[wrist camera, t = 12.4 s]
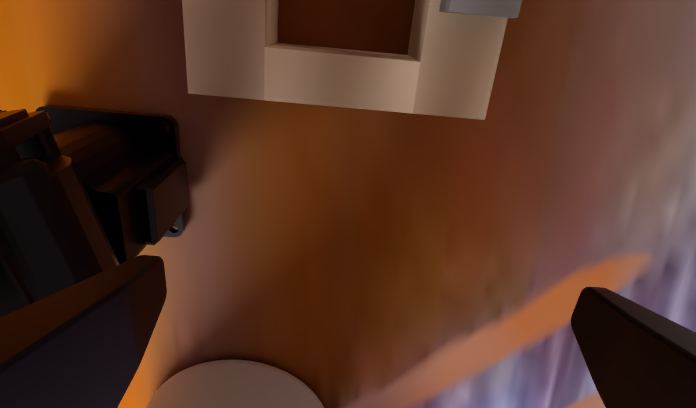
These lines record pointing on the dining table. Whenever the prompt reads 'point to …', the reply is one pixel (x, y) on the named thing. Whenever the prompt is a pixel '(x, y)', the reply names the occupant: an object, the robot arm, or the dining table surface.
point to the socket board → (349, 59)
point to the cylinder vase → (233, 387)
